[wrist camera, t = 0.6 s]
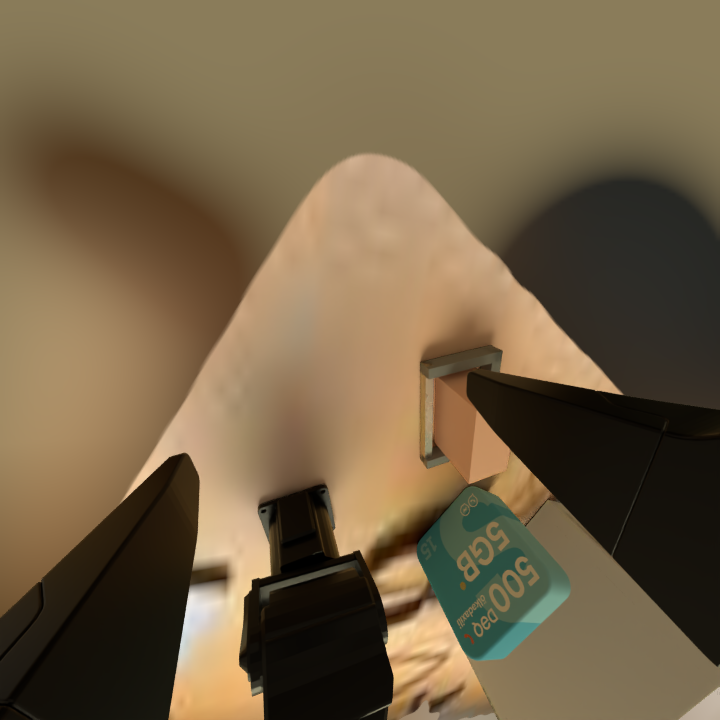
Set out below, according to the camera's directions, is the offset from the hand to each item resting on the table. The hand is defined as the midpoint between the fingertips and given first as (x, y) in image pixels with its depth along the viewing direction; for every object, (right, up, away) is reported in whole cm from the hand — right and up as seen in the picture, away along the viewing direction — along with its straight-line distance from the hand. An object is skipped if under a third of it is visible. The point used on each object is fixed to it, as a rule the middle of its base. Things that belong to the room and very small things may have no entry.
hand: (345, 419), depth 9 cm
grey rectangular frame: (+10, -3, +20) cm, 23 cm away
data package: (+12, -18, +29) cm, 36 cm away
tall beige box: (+10, -3, +21) cm, 23 cm away
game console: (+24, -31, +39) cm, 56 cm away
